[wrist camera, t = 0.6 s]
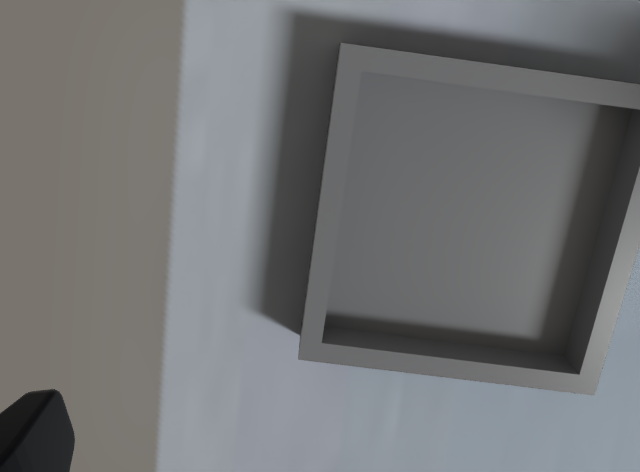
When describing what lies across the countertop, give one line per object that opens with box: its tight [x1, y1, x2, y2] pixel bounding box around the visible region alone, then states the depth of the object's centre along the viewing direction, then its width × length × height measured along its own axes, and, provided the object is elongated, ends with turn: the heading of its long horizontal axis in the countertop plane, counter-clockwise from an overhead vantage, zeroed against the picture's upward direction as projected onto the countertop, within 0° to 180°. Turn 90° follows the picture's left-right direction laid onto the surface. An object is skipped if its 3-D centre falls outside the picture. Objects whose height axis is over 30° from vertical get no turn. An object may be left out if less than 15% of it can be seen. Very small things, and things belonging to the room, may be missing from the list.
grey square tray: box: [298, 43, 640, 395], centre depth 22 cm, size 12×12×2 cm
